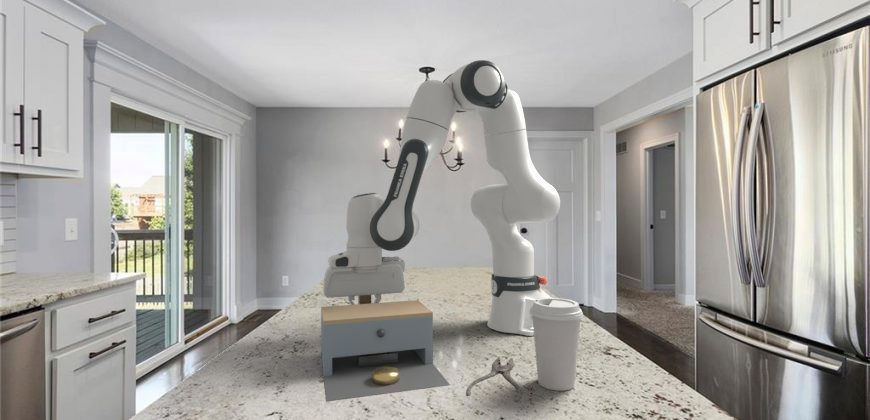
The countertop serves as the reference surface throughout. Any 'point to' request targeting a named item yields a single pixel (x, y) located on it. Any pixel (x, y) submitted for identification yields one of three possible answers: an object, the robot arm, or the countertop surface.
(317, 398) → the countertop surface
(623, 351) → the countertop surface
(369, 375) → the mat
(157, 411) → the countertop surface
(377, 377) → the token
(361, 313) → the cabinet
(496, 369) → the pliers
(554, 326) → the coffee cup
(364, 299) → the sweep tool
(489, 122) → the robot arm
